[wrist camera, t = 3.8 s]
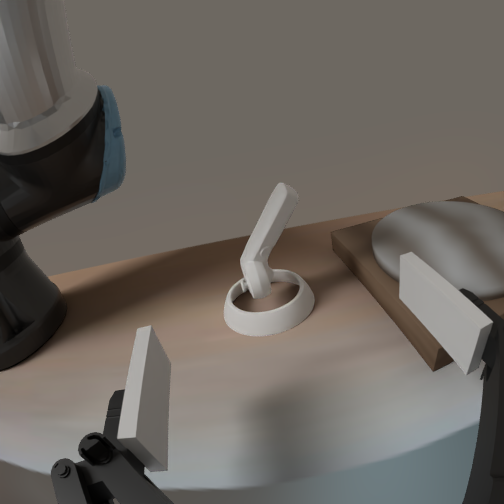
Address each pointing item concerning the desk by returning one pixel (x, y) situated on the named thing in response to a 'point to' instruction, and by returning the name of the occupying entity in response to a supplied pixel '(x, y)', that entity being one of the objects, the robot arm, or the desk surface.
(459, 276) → the rosette stand
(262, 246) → the white vr controller
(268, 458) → the desk surface
